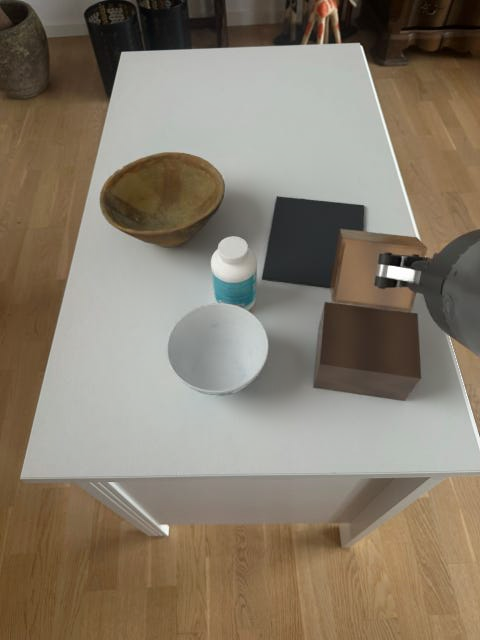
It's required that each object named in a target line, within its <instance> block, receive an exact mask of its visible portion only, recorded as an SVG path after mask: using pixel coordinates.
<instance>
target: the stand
mask: <svg viewBox="0 0 480 640" xmlns="http://www.w3.org/2000/svg"><path fill="white" fill-rule="evenodd" d="M418 314H419V313H415V312H406V311H398V310H391V309H383V308H375V307H367V306H359V305H351V304H343V303H335V302H328V301H325V302H324V304H323V309H322V311H321V316H320V320H319V324H318V329H317V339H316V349H315V361H314V362H315V363H314V374H313V384H312V388H314V389H321V390H328V391H333V392H341V393H348V394H355V395H360V396H367V397H375V398H381V399H390V400H394V401H401V402H402V401H403V402H405V401H406V400H407V398H408V397H409V396H410V395H411V393H412V392H413V390H414V389H415V388H416V387H417V385H418V384H419V382H420V381H421V380H422V370H421V368H422V367H421V352H420V351H421V350H420V333H419V332H420V331H419V315H418Z"/></svg>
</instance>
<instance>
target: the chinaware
mask: <svg viewBox="0 0 480 640" xmlns="http://www.w3.org/2000/svg"><path fill="white" fill-rule="evenodd" d="M166 342H167V343H166V357H167V361H168V364H169V366H170V368H171V370H172V372H173V373H174V375H175V376H176V377H177V378H178V379H179V380H180V381H181V383H183V384H185V386H186V387H188V388H189V389H191V390H193V391H195V392H197V393H199V394H203V395H206V396H216V397H217V396H219V397H221V396H228V395H233V394H234V393H237V392H239V391H242V390H243V389H244V388H247V387H248V386H249V385H250V384H251V383H252V382H254V380H255V379H256V378H258V376H259V375H260V373H261V372H262V371H263V368H264V367H265V364H266V362H267V359H268V355H269V349H270V348H269V345H270V344H269V338H268V333H267V331H266V328H265V327H264V325H263V323H262V322H261V321H260V320H259V319H258V318H257V317H256V316H255V315H254V314H253V313H252V312H250V310H248V311H247V310H245V309H243V308H241V307H239V306H236V305H232V304H225V303H216V302H214V303H207V304H204V305H200V306H198V307H195V308H193V309H191V310H190V311H188V312H187V313H185V314H183V316H181V317H180V318H179V319H178V320H177V322H176V323H175V324H174V325H173V326H172V328H171V330H170V333H169V335H168V338H167V341H166Z"/></svg>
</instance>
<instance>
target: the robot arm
mask: <svg viewBox="0 0 480 640" xmlns="http://www.w3.org/2000/svg"><path fill="white" fill-rule="evenodd" d="M374 286H378V288H380V289H385V288H399V289H401V288H402V287H408V288H409V289H410V290H411V291H413V292H416V294H420V295H422V296H423V300H424V302H425V306H426V308H427V311H428V314H429V315H430V318H432V321H433V322H434V323H435V324H436V325H437V327H438V328H439V329H440V330H441V331H442V332H443V333H445V334H446V335H447V336H449V337H450V338H452V340H454V341H456V342H457V343H459V344H460V345H461V346H462V347H464V348H466V349H467V350H469V351H470V352H471V353H473V354H474V355H475V356H477V357H478V358H480V228H479V229H474V230H471V231H468V232H466V233H463V234H462V235H460V236H458V237H455V238H454V239H453V240H451V241H450V242H449V243H448V244H446V245H445V246H444V247H443V248H442V249H441V250H440V251H439V252H434V254H433V256H432V257H428V256H427V257H426V256H425V257H419V255H417V254H413V256H410V255H395V254H392V253H389V252H385V254H379V260H378V264H377V270H376V275H375V282H374Z"/></svg>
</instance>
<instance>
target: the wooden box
mask: <svg viewBox="0 0 480 640" xmlns="http://www.w3.org/2000/svg"><path fill="white" fill-rule="evenodd" d="M427 251H428V247H427V245H425V244H424V242H422V241H421V239H419V238H418V237H417V236H409V235H399V234H391V233H382V232H372V231H364V230H363V231H355V230H345V229H340V232H339V238H338V244H337V249H336V255H335V261H334V267H333V273H332V279H331V285H330V288H329V291H330V300H331V303H337V304H345V305H353V306H361V307H369V308H377V309H385V310H392V311H400V312H408V313H412V310H413V307H414V302H415V299H416V294H417V293H416V292H413V291H411V290H410V289H409V288H408V287H402V288H401V289H399V288H385V289H380V288H378V286H374V282H375V275H376V270H377V264H378V260H379V254H385V252H389V253H392V254H395V255H410V256H413V254H417V255H419V257H426V256H427Z"/></svg>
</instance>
